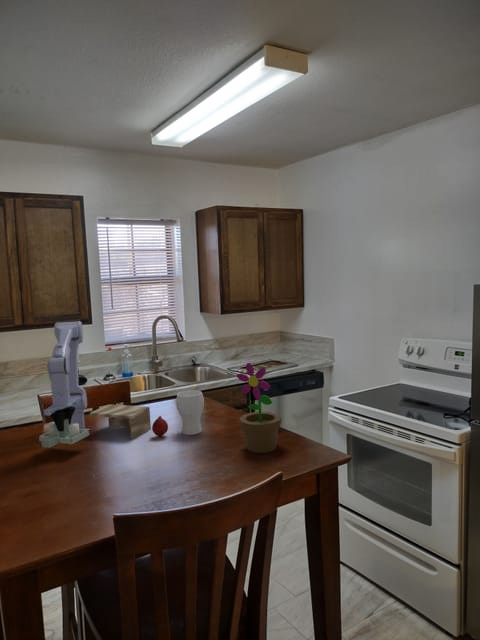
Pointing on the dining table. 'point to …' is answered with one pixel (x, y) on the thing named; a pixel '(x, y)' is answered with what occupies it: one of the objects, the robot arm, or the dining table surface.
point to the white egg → (73, 430)
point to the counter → (127, 418)
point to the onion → (160, 427)
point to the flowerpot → (259, 415)
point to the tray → (62, 437)
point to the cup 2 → (190, 410)
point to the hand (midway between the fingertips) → (63, 429)
